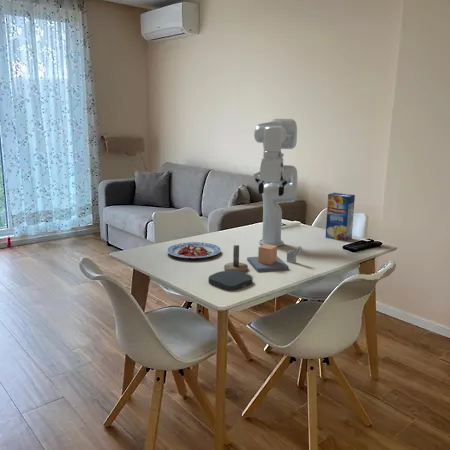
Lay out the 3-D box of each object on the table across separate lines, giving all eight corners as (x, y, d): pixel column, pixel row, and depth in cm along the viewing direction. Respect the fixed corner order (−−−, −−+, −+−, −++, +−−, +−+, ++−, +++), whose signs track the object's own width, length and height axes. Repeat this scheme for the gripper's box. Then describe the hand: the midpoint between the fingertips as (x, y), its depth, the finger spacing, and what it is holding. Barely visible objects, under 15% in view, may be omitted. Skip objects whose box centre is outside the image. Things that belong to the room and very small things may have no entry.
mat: (247, 260, 207) (247, 257, 206) (276, 258, 210) (276, 255, 209) (257, 271, 192) (257, 268, 191) (288, 269, 195) (288, 266, 194)
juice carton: (325, 237, 248) (327, 194, 243) (331, 234, 254) (334, 192, 248) (345, 241, 241) (349, 196, 235) (351, 238, 246) (355, 194, 241)
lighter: (286, 261, 206) (287, 244, 204) (288, 260, 207) (289, 243, 206) (299, 264, 202) (300, 247, 200) (301, 263, 203) (302, 246, 201)
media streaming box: (204, 283, 179) (204, 275, 178) (230, 274, 189) (230, 267, 188) (230, 293, 169) (230, 285, 168) (256, 283, 179) (256, 276, 178)
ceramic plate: (155, 256, 212) (155, 250, 211) (185, 243, 234) (185, 238, 233) (203, 265, 200) (203, 258, 200) (230, 250, 223) (230, 245, 222)
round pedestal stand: (222, 266, 198) (222, 243, 196) (244, 264, 200) (244, 242, 198) (227, 273, 189) (227, 249, 186) (250, 272, 191) (250, 248, 188)
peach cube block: (264, 258, 204) (264, 243, 203) (276, 261, 201) (277, 246, 200) (258, 262, 199) (258, 247, 198) (270, 264, 196) (270, 249, 195)
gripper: (294, 156, 196) (292, 195, 200) (258, 154, 205) (257, 191, 209) (286, 157, 190) (285, 197, 193) (250, 155, 198) (249, 193, 202)
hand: (270, 194), depth 201 cm, fingers open, 9 cm apart
